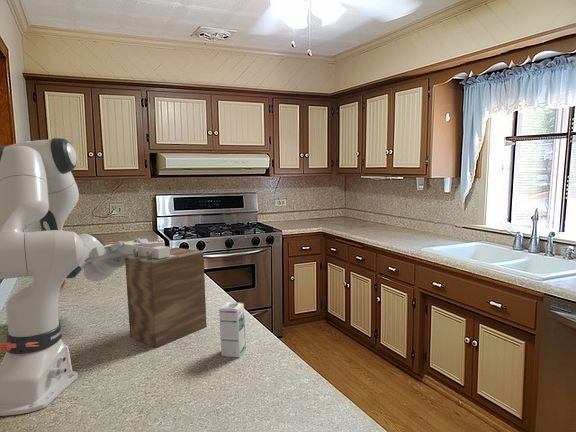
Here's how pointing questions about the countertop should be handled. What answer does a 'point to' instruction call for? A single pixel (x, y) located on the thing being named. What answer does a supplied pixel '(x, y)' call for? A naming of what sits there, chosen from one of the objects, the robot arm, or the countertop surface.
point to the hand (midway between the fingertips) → (130, 241)
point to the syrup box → (232, 329)
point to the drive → (146, 249)
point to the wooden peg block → (165, 295)
